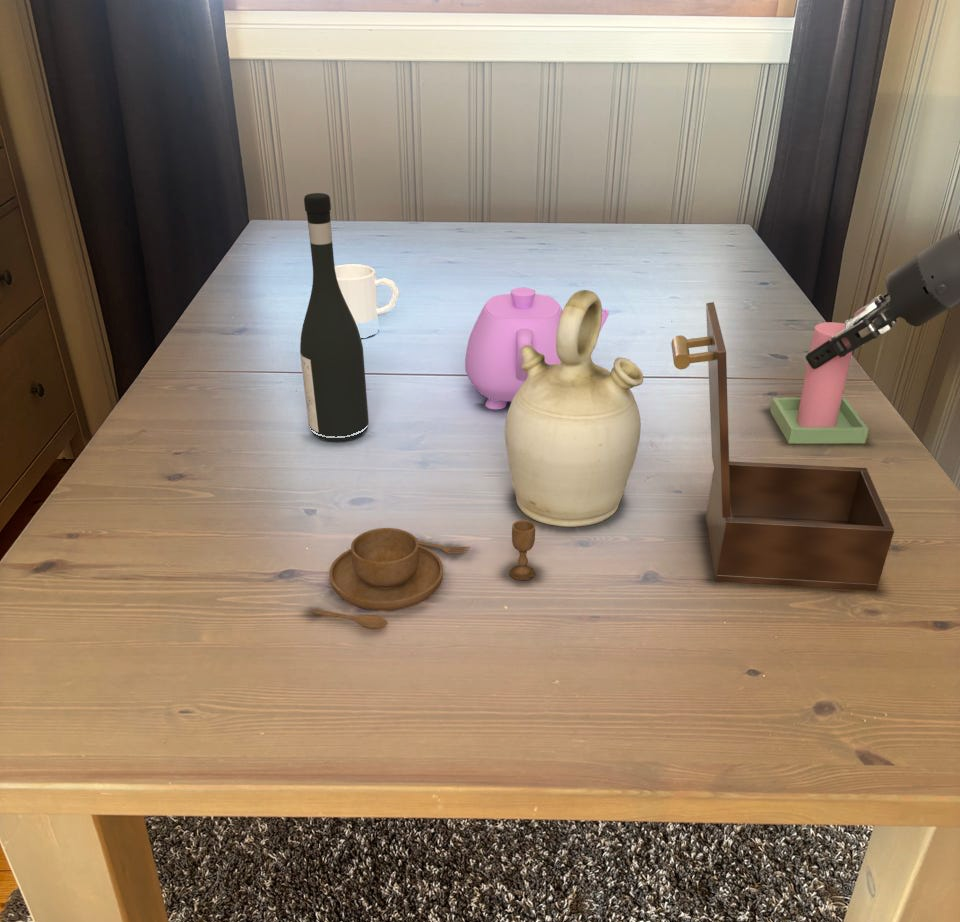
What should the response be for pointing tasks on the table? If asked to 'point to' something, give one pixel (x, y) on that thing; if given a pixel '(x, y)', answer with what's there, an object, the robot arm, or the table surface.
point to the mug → (363, 291)
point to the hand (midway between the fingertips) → (816, 355)
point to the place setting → (402, 570)
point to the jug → (573, 425)
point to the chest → (799, 527)
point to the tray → (845, 430)
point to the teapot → (511, 342)
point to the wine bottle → (330, 341)
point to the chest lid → (712, 396)
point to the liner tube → (824, 382)
